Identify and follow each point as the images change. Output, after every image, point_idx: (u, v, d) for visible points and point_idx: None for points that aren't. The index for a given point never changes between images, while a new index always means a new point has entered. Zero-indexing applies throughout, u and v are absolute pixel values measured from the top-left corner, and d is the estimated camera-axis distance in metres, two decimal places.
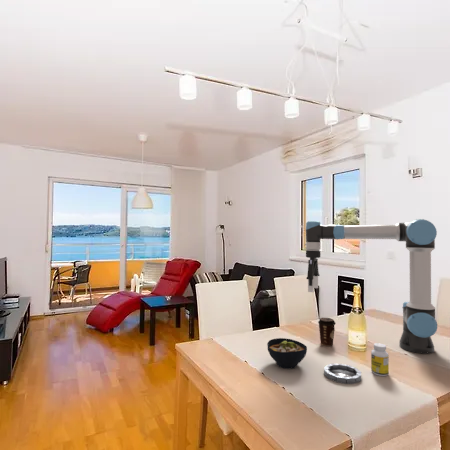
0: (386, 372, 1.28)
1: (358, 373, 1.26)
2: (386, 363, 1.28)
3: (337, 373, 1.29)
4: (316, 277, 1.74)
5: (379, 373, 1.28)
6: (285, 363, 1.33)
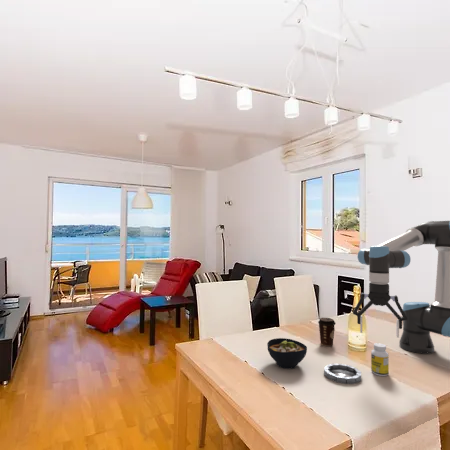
0: (386, 372, 1.28)
1: (358, 373, 1.26)
2: (386, 363, 1.28)
3: (337, 373, 1.29)
4: (396, 322, 1.28)
5: (379, 373, 1.28)
6: (285, 363, 1.33)
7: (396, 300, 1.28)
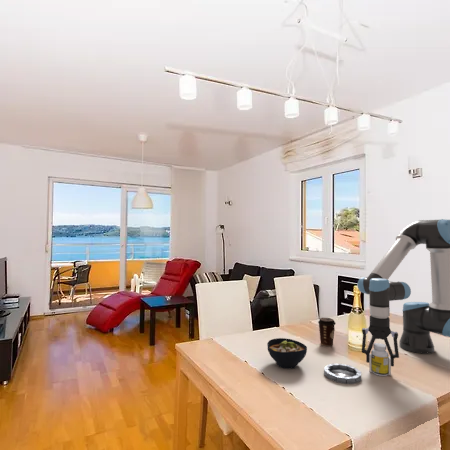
0: (386, 372, 1.28)
1: (358, 373, 1.26)
2: (386, 363, 1.28)
3: (337, 373, 1.29)
4: None
5: (379, 373, 1.28)
6: (285, 363, 1.33)
7: (395, 337, 1.28)
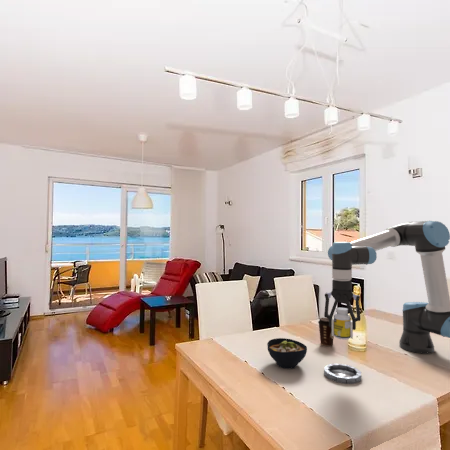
0: (348, 335, 1.26)
1: (358, 373, 1.26)
2: (348, 326, 1.26)
3: (337, 373, 1.29)
4: None
5: (341, 336, 1.26)
6: (285, 363, 1.33)
7: (357, 300, 1.26)
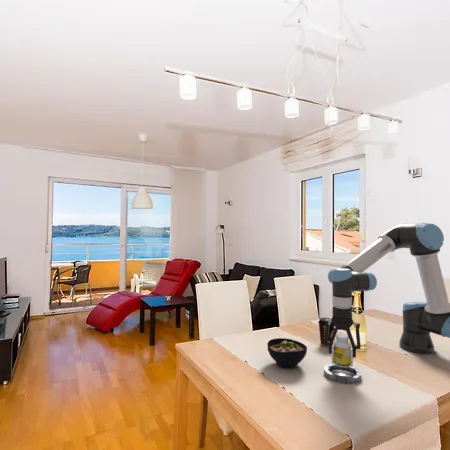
0: (348, 363, 1.26)
1: (358, 373, 1.26)
2: (348, 354, 1.26)
3: (337, 373, 1.29)
4: None
5: (341, 364, 1.26)
6: (285, 363, 1.33)
7: (357, 328, 1.26)
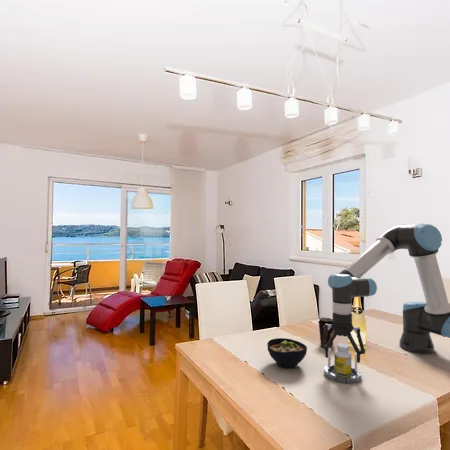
0: (348, 373, 1.26)
1: (358, 373, 1.26)
2: (348, 364, 1.26)
3: None
4: None
5: (341, 374, 1.26)
6: (285, 363, 1.33)
7: (358, 332, 1.25)
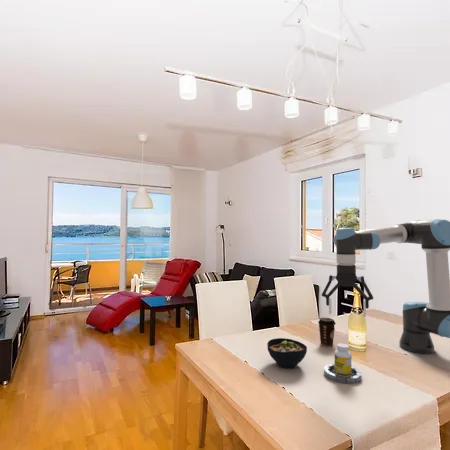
0: (348, 373, 1.26)
1: (358, 373, 1.26)
2: (348, 364, 1.26)
3: None
4: None
5: (341, 374, 1.26)
6: (285, 363, 1.33)
7: (362, 280, 1.30)
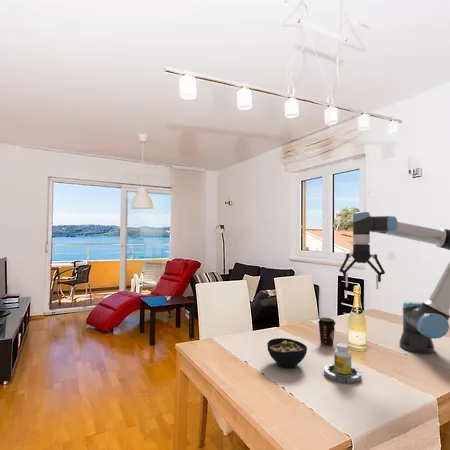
0: (348, 373, 1.26)
1: (358, 373, 1.26)
2: (348, 364, 1.26)
3: None
4: (376, 276, 1.50)
5: (341, 374, 1.26)
6: (285, 363, 1.33)
7: (375, 257, 1.50)
